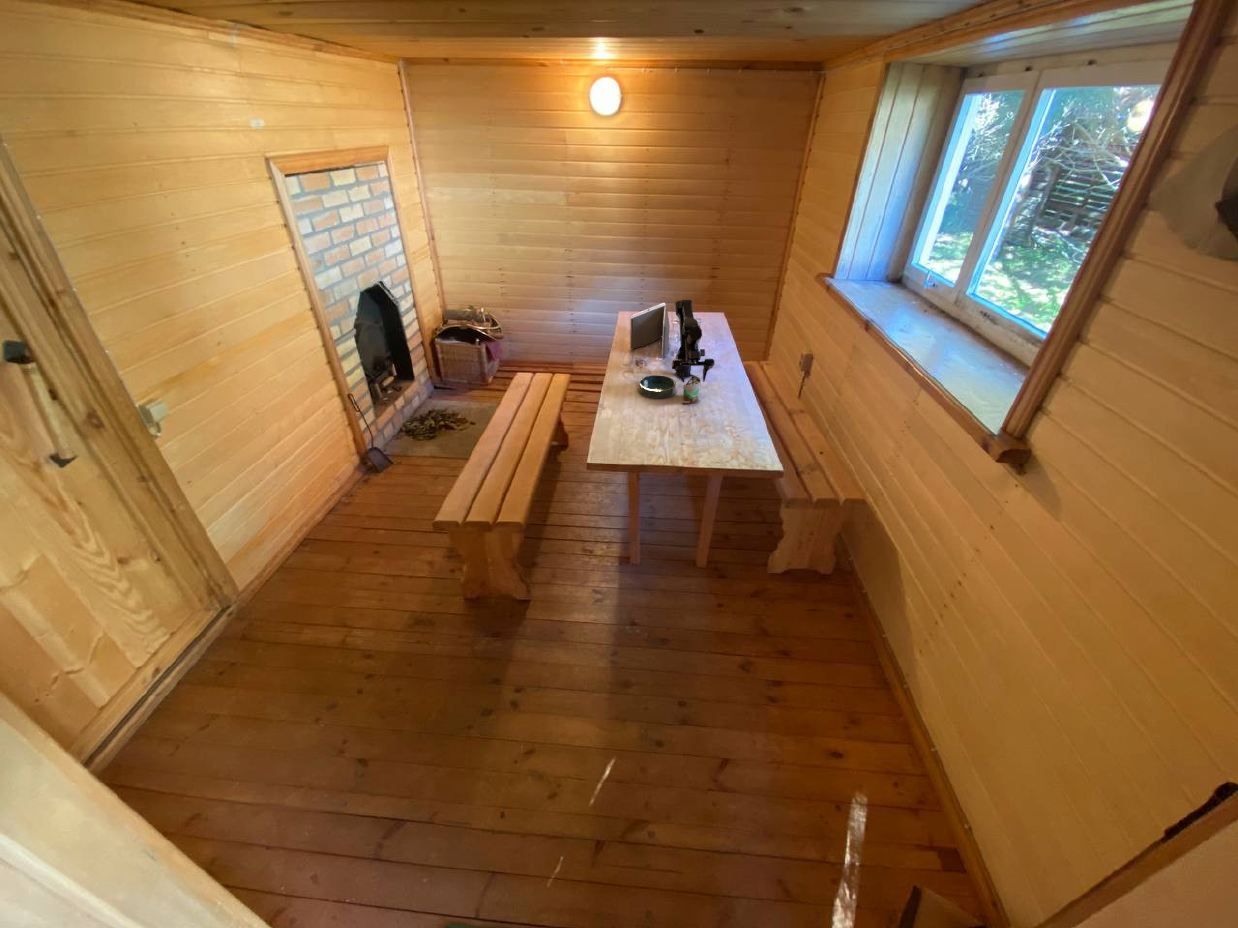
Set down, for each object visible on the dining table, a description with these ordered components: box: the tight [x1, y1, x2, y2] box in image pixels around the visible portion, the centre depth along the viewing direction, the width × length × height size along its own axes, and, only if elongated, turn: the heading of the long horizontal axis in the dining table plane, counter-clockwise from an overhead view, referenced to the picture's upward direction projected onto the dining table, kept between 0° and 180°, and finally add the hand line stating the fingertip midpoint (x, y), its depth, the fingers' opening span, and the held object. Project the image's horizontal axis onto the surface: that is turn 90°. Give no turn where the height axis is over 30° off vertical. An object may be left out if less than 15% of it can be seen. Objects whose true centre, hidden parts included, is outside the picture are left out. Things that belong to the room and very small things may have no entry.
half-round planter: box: [682, 374, 702, 405], centre depth 230 cm, size 12×6×10 cm, turn 155°
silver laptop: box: [629, 302, 671, 358], centre depth 282 cm, size 35×22×20 cm, turn 176°
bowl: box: [638, 374, 677, 399], centre depth 240 cm, size 17×17×4 cm
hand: (693, 382), depth 229 cm, fingers open, 9 cm apart
